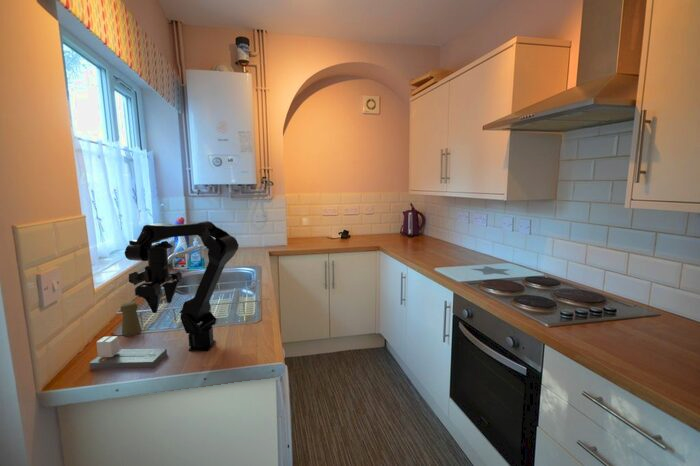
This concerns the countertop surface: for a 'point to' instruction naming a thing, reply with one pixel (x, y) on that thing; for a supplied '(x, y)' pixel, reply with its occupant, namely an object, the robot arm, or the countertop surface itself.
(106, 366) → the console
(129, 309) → the cork
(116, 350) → the block
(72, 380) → the countertop surface
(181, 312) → the robot arm
